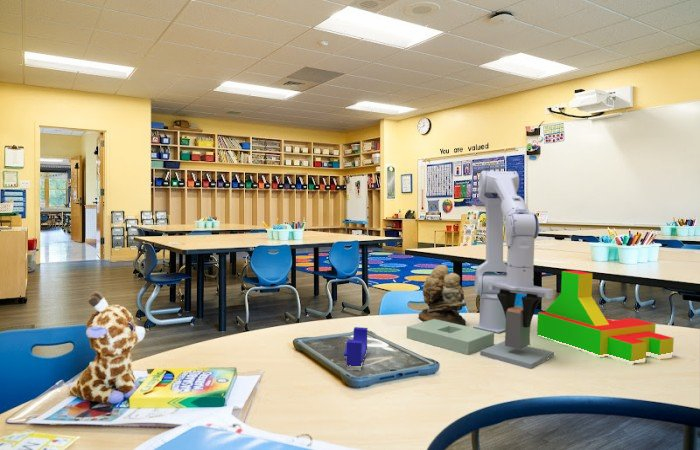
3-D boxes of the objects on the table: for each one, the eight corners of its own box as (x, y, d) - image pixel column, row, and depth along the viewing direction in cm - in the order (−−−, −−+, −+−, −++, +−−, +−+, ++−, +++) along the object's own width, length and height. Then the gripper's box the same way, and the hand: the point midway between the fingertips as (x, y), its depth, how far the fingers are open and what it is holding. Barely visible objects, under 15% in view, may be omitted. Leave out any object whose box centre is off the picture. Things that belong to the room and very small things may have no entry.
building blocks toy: (623, 367, 103) (627, 284, 102) (537, 336, 126) (539, 268, 125) (679, 357, 110) (683, 280, 109) (587, 330, 133) (590, 266, 132)
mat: (505, 344, 117) (505, 340, 117) (553, 356, 108) (554, 352, 108) (480, 355, 109) (480, 350, 108) (530, 368, 100) (531, 364, 100)
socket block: (433, 329, 130) (434, 318, 130) (493, 344, 117) (494, 332, 117) (406, 337, 121) (406, 326, 121) (467, 354, 109) (468, 342, 108)
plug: (515, 341, 111) (516, 305, 111) (529, 344, 109) (530, 308, 108) (504, 345, 108) (506, 308, 107) (519, 349, 105) (520, 311, 105)
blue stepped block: (347, 352, 110) (348, 326, 109) (366, 353, 109) (367, 327, 109) (339, 370, 98) (339, 341, 97) (360, 371, 97) (361, 343, 97)
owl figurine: (478, 326, 134) (480, 267, 133) (446, 331, 129) (447, 270, 128) (439, 312, 150) (440, 259, 149) (408, 316, 145) (409, 261, 144)
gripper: (482, 264, 110) (480, 321, 110) (544, 271, 99) (542, 334, 100) (497, 261, 115) (495, 316, 115) (557, 268, 104) (555, 328, 105)
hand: (518, 324), depth 108 cm, fingers closed on plug, 3 cm apart
